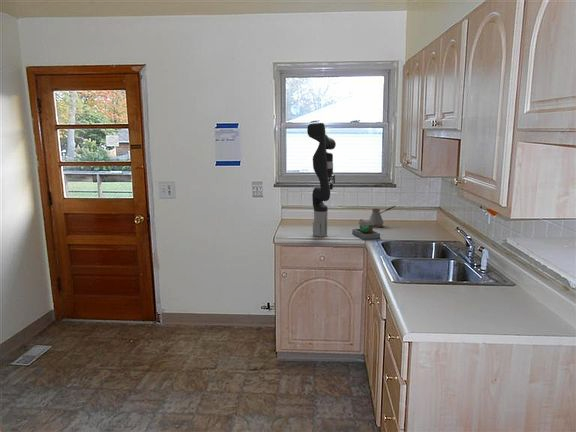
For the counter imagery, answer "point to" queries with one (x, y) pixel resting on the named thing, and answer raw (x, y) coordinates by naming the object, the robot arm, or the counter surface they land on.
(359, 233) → the tray
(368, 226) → the food container
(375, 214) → the coffee pot
